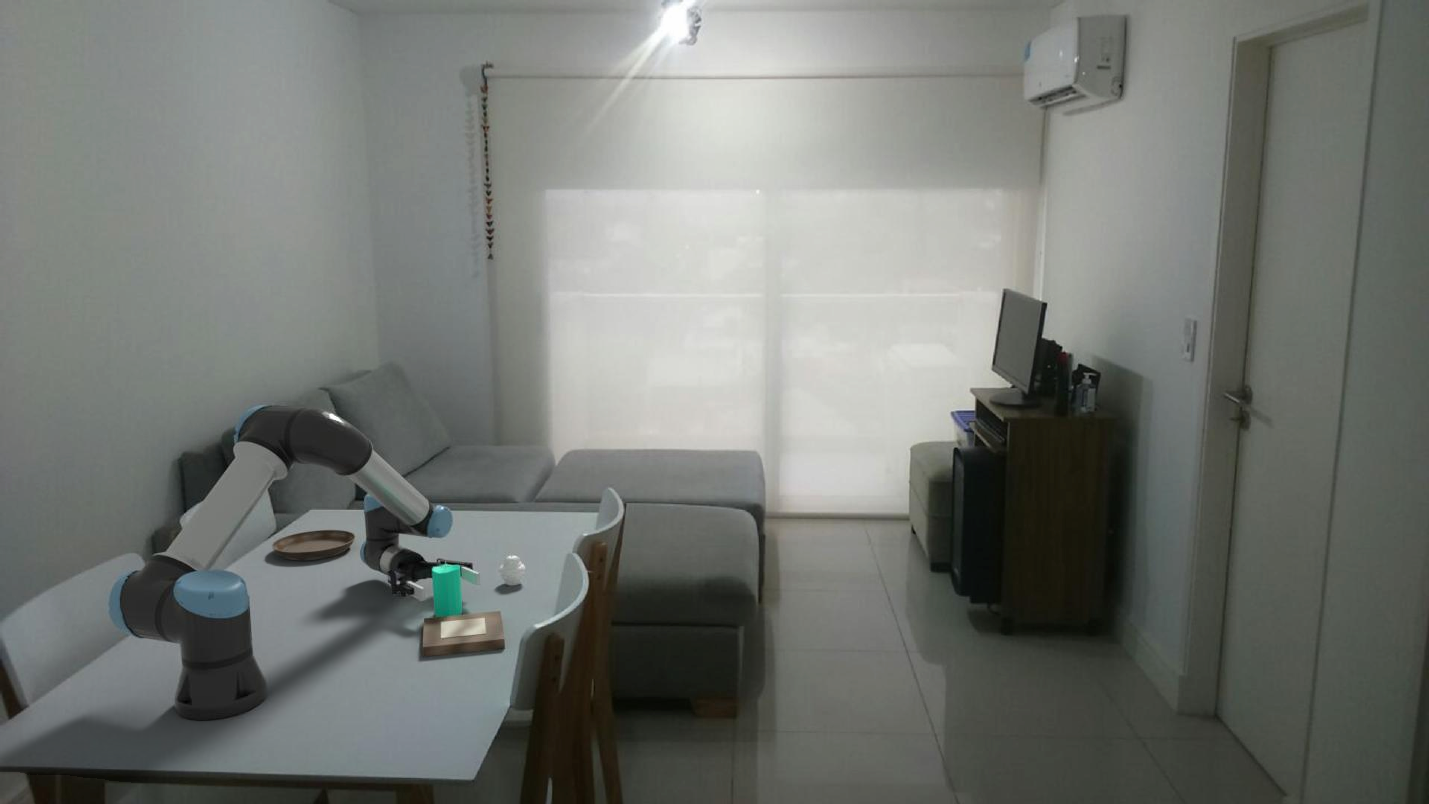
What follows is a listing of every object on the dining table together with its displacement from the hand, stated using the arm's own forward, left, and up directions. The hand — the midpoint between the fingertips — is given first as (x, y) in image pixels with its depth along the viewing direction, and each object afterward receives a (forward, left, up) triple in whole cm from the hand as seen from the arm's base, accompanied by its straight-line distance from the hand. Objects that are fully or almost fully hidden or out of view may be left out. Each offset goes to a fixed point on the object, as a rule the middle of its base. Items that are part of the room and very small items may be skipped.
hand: (451, 586), depth 233 cm
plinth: (+2, -14, -6) cm, 16 cm away
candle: (-1, +1, -7) cm, 7 cm away
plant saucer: (-35, +57, -7) cm, 67 cm away
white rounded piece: (+14, +17, -7) cm, 23 cm away
